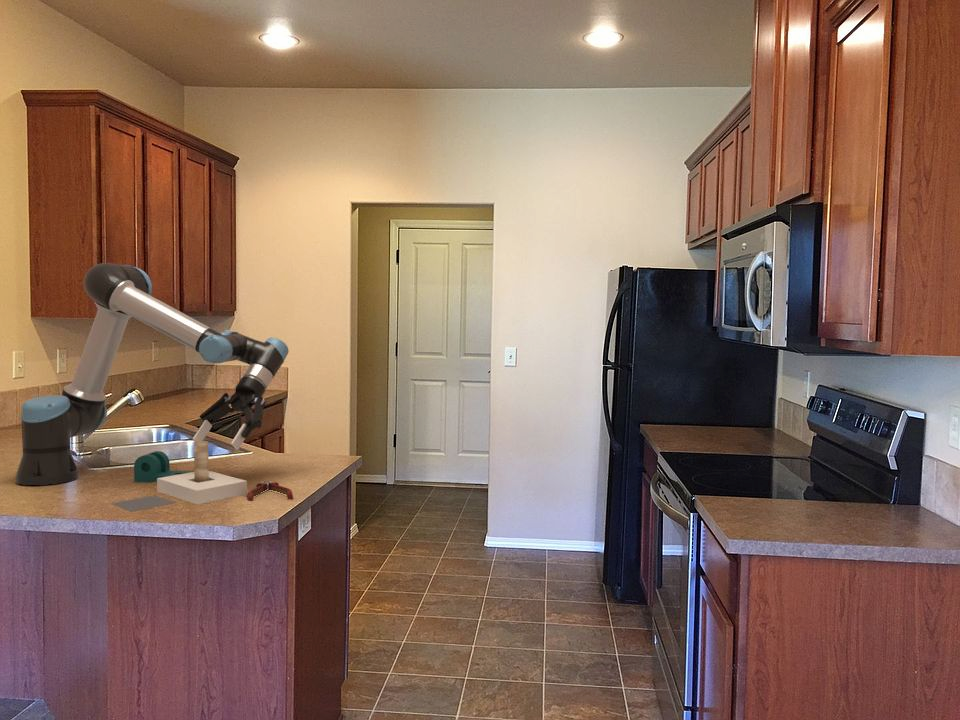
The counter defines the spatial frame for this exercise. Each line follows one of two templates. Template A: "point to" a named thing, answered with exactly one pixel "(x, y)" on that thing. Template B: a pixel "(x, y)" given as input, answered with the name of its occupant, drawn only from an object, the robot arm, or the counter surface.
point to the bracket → (153, 467)
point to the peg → (201, 461)
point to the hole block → (202, 487)
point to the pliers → (271, 486)
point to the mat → (143, 503)
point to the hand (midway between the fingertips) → (214, 444)
